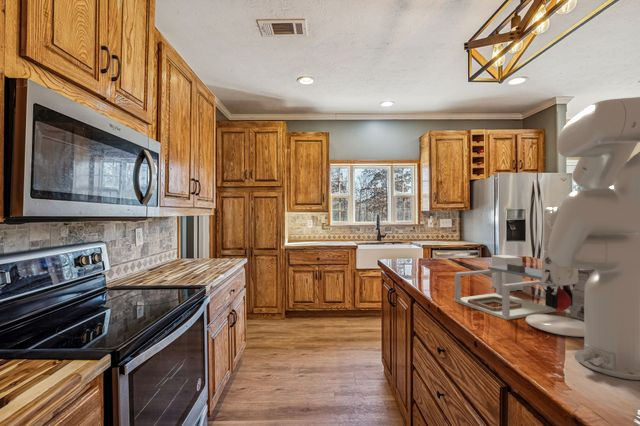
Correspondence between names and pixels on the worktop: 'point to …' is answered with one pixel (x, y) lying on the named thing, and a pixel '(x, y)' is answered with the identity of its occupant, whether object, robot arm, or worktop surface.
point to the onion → (562, 300)
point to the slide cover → (518, 270)
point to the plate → (557, 324)
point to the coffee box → (580, 294)
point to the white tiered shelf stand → (500, 298)
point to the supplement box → (507, 277)
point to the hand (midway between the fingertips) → (558, 305)
